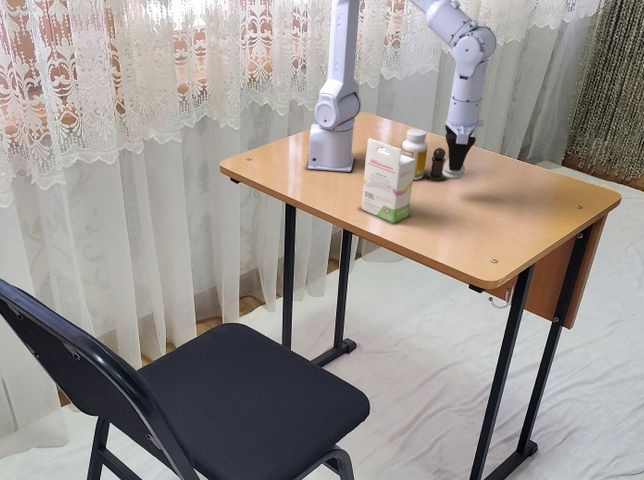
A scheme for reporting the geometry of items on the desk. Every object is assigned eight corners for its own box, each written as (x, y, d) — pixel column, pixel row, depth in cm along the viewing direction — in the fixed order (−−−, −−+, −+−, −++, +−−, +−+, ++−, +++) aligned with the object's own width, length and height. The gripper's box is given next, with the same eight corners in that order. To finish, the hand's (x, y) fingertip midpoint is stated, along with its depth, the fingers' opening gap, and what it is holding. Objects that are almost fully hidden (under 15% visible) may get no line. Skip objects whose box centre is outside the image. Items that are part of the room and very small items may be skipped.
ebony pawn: (426, 180, 157) (430, 151, 153) (426, 172, 160) (430, 144, 157) (445, 181, 157) (450, 152, 153) (445, 174, 160) (449, 145, 156)
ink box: (409, 216, 144) (419, 143, 135) (393, 224, 141) (402, 150, 132) (376, 201, 149) (383, 130, 140) (359, 209, 146) (366, 137, 138)
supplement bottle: (422, 170, 161) (428, 127, 155) (424, 181, 157) (430, 137, 151) (397, 170, 162) (402, 126, 156) (399, 180, 158) (404, 136, 152)
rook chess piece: (465, 172, 149) (472, 133, 144) (462, 181, 145) (469, 142, 140) (443, 169, 150) (449, 131, 145) (440, 178, 146) (446, 139, 142)
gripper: (490, 111, 132) (476, 182, 140) (486, 86, 143) (473, 153, 151) (450, 109, 133) (439, 179, 141) (449, 84, 144) (438, 150, 152)
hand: (454, 165), depth 146 cm, fingers closed on rook chess piece, 3 cm apart
